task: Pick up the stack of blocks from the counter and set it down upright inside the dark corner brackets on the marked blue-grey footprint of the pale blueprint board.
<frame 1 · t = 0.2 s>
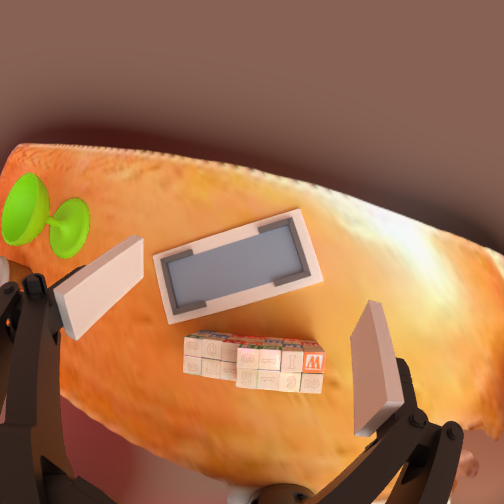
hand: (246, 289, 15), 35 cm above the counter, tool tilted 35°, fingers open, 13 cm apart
disposable coffee cup: (27, 278, 58), on the counter
blueprint board: (233, 268, 50), on the counter
stack of blocks: (257, 352, 48), on the counter
wineglass: (69, 227, 58), on the counter
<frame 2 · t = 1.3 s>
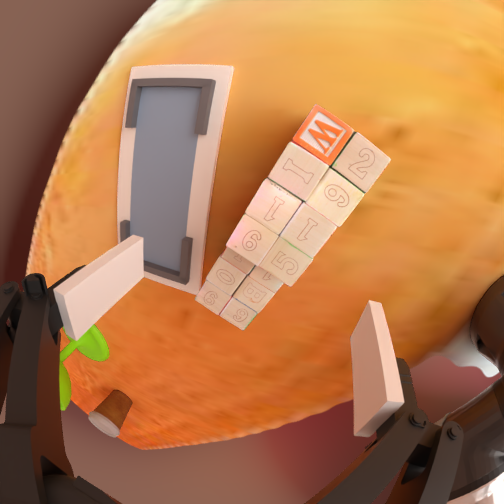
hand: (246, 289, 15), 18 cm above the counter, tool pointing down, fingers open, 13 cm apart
disposable coffee cup: (123, 396, 61), on the counter
blueprint board: (162, 179, 33), on the counter
stack of blocks: (287, 208, 31), on the counter
wineglass: (84, 334, 53), on the counter
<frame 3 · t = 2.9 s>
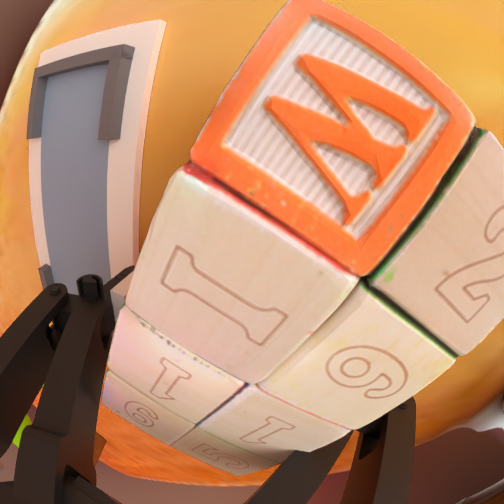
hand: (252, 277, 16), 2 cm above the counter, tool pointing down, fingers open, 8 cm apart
disposable coffee cup: (96, 434, 48), on the counter
blueprint board: (76, 211, 20), on the counter
stack of blocks: (259, 267, 18), on the counter, touching gripper
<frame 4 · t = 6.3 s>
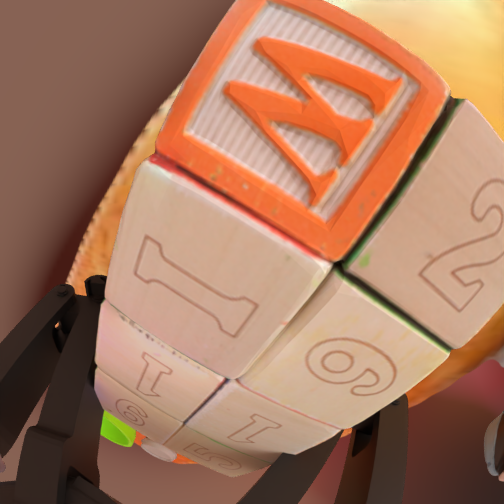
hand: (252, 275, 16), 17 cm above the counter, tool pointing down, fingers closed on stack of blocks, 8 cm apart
disposable coffee cup: (175, 418, 60), on the counter
stack of blocks: (256, 266, 18), point 15 cm above the counter, touching gripper
wineglass: (139, 360, 52), on the counter
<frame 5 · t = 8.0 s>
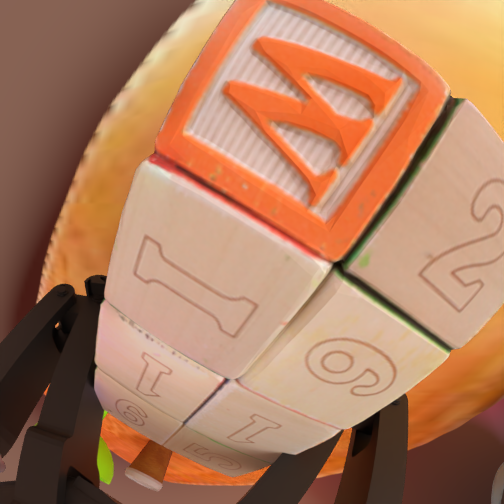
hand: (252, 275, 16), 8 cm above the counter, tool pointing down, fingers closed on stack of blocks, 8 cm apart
disposable coffee cup: (160, 446, 51), on the counter
stack of blocks: (256, 267, 18), point 6 cm above the counter, touching gripper
wineglass: (116, 391, 43), on the counter
when the fingers open (4 cm above the counter, at t = 9.5 s): stack of blocks stays where it is, resting on blueprint board.
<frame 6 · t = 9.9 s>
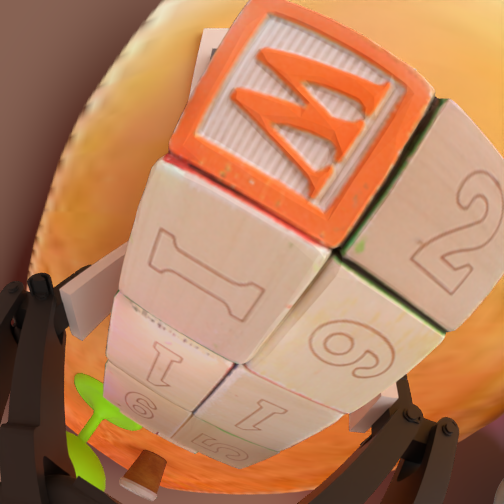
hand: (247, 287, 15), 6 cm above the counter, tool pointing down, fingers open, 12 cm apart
disposable coffee cup: (155, 456, 48), on the counter
blueprint board: (265, 248, 20), on the counter
stack of blocks: (258, 264, 18), point 2 cm above the counter, touching blueprint board
wineglass: (107, 402, 40), on the counter
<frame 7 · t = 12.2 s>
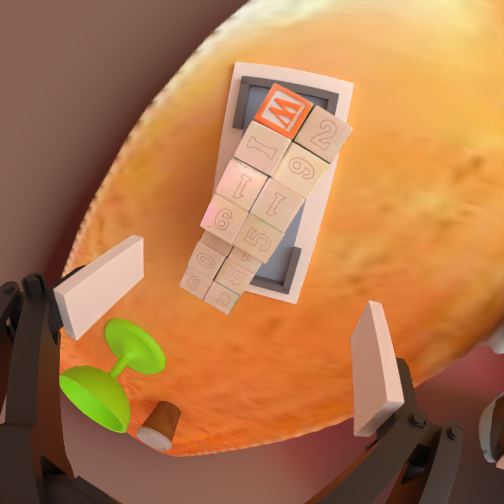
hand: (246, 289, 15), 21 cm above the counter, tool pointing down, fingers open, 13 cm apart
disposable coffee cup: (170, 407, 61), on the counter
blueprint board: (270, 187, 33), on the counter
stack of blocks: (267, 194, 32), point 2 cm above the counter, touching blueprint board
wineglass: (134, 347, 53), on the counter
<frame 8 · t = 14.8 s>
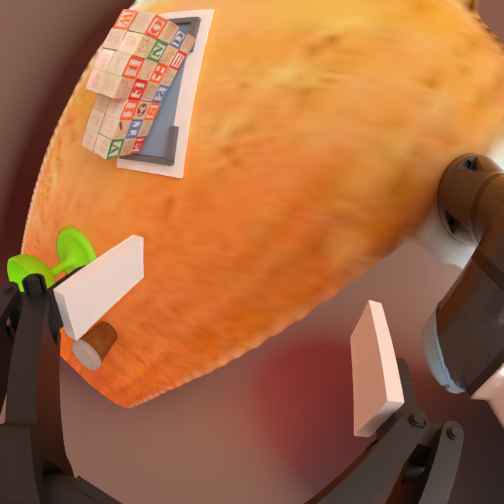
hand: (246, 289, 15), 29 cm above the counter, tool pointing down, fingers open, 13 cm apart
disposable coffee cup: (109, 330, 66), on the counter
blueprint board: (159, 88, 38), on the counter
stack of blocks: (153, 89, 36), point 2 cm above the counter, touching blueprint board
wineglass: (77, 256, 58), on the counter
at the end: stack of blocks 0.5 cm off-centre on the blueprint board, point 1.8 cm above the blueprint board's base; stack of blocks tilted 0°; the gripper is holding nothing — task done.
